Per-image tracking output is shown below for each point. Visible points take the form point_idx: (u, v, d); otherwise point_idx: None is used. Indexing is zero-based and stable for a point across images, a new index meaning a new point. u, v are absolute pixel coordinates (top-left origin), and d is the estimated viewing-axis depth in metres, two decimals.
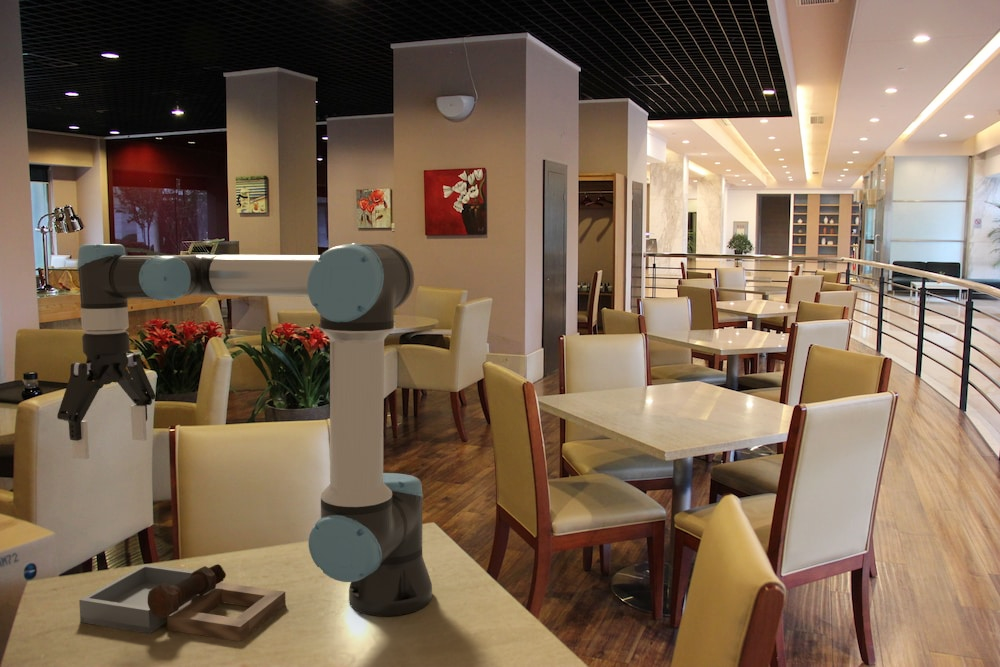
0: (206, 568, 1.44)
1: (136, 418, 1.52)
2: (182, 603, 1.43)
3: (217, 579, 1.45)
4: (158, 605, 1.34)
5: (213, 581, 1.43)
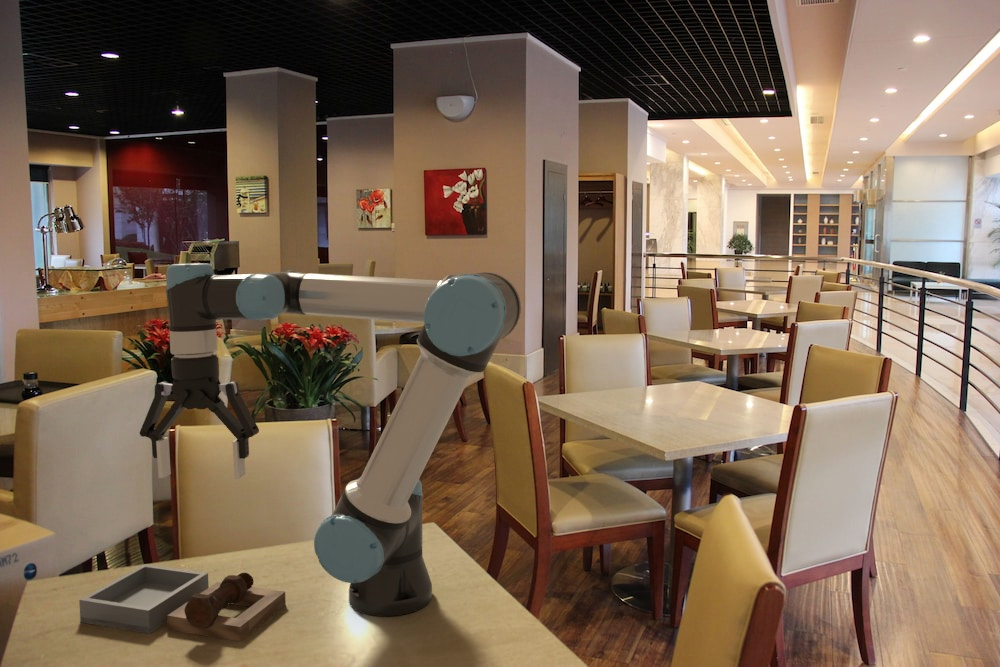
0: None
1: None
2: (182, 603, 1.43)
3: None
4: (198, 609, 1.32)
5: None
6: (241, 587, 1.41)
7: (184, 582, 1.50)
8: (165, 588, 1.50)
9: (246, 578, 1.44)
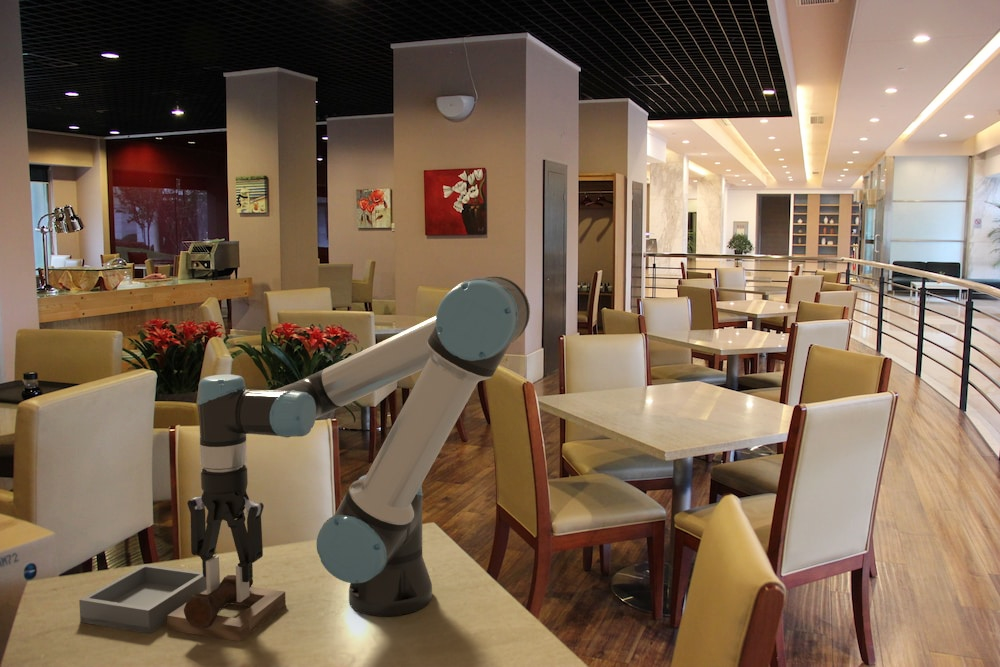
0: None
1: None
2: (182, 603, 1.43)
3: None
4: (197, 609, 1.32)
5: None
6: None
7: (184, 582, 1.50)
8: (165, 588, 1.50)
9: None
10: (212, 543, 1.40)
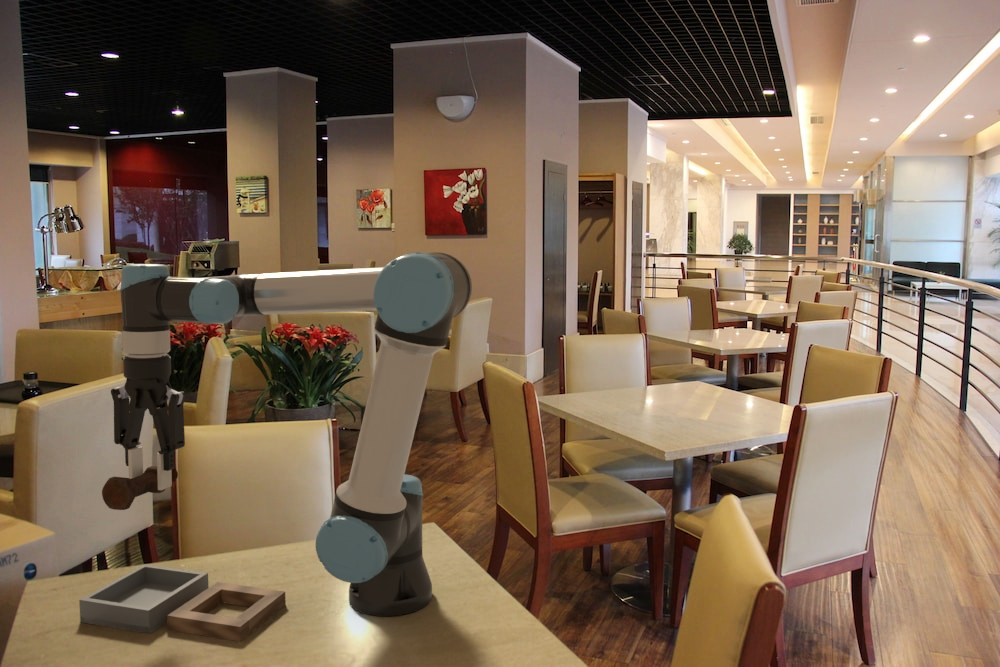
0: None
1: None
2: (182, 603, 1.43)
3: None
4: (115, 491, 1.33)
5: None
6: None
7: (184, 582, 1.50)
8: (165, 588, 1.50)
9: None
10: (135, 432, 1.41)
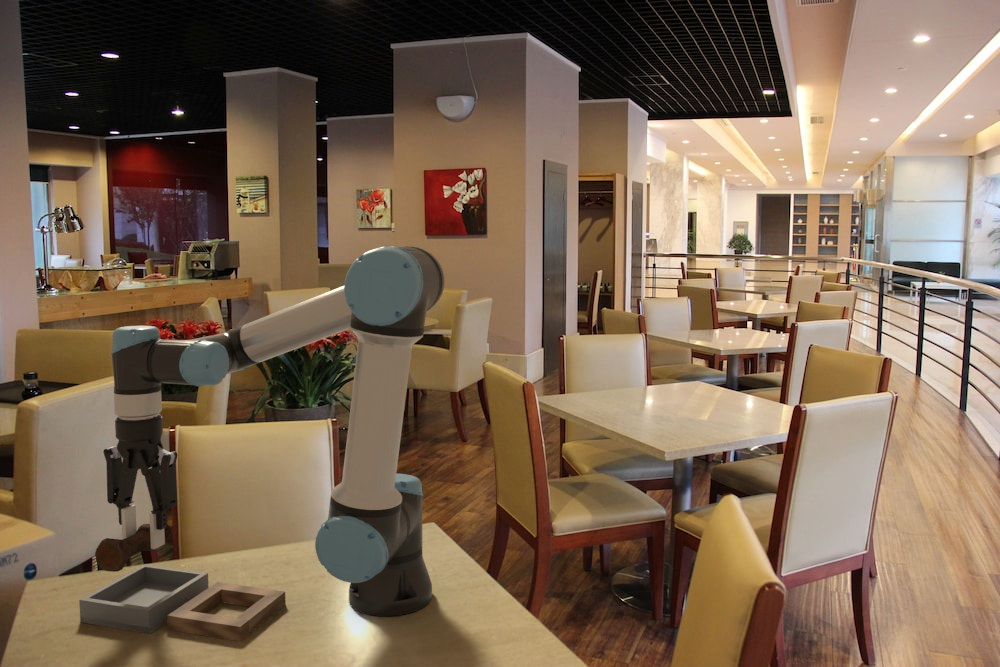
0: None
1: None
2: (182, 603, 1.43)
3: None
4: (108, 553, 1.34)
5: None
6: None
7: (184, 582, 1.50)
8: (165, 588, 1.50)
9: None
10: (128, 491, 1.43)
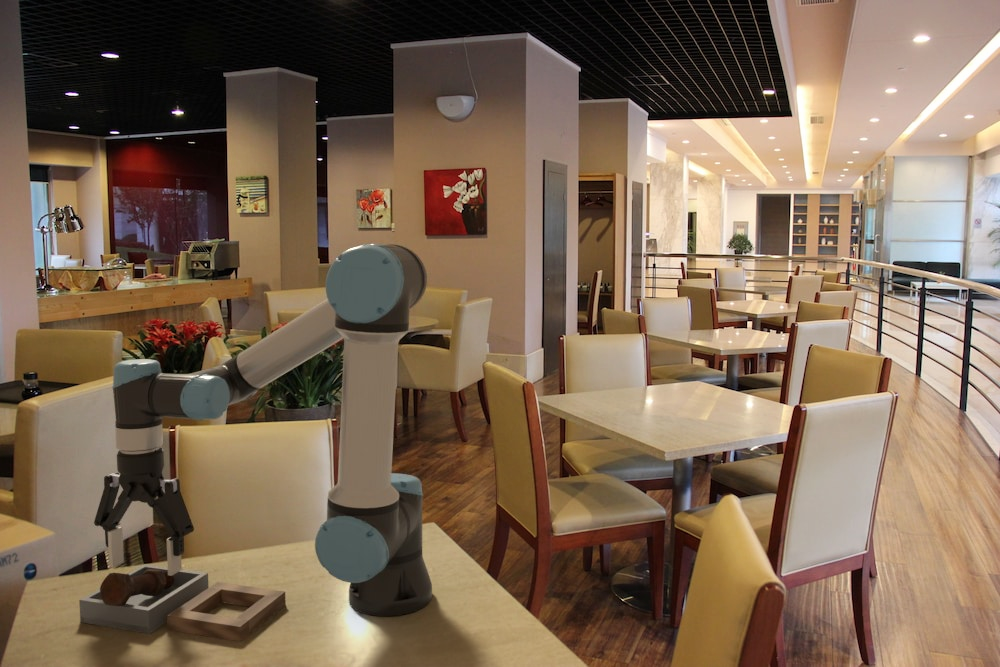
0: None
1: None
2: (182, 603, 1.43)
3: None
4: (113, 586, 1.36)
5: None
6: (160, 579, 1.45)
7: (184, 582, 1.50)
8: None
9: (167, 575, 1.48)
10: (117, 517, 1.44)
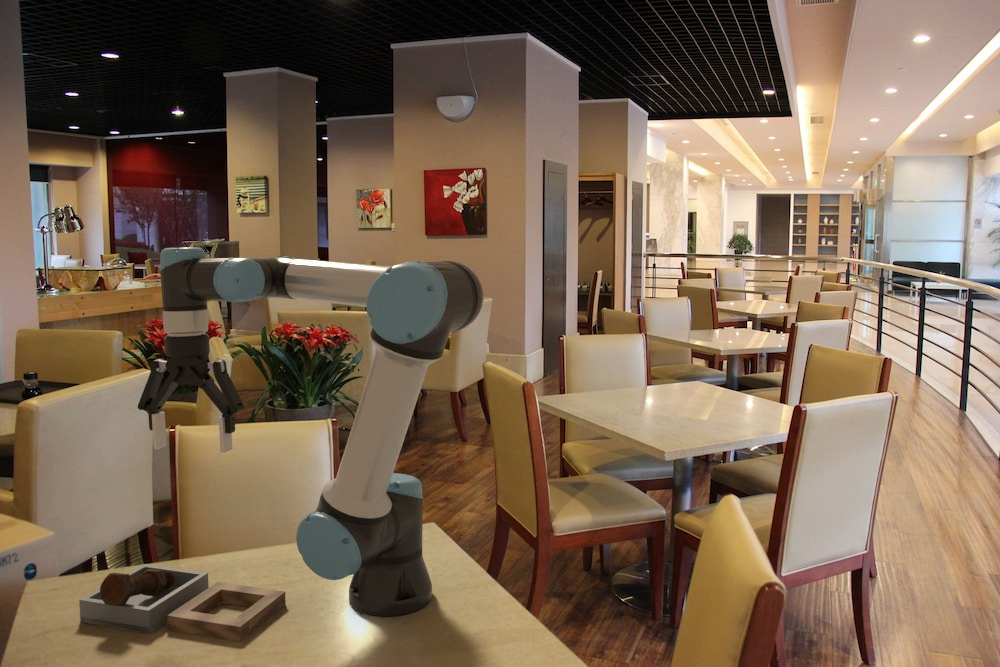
0: None
1: None
2: (182, 603, 1.43)
3: None
4: (113, 586, 1.36)
5: None
6: (160, 579, 1.45)
7: (184, 582, 1.50)
8: None
9: (167, 575, 1.48)
10: (162, 402, 1.48)
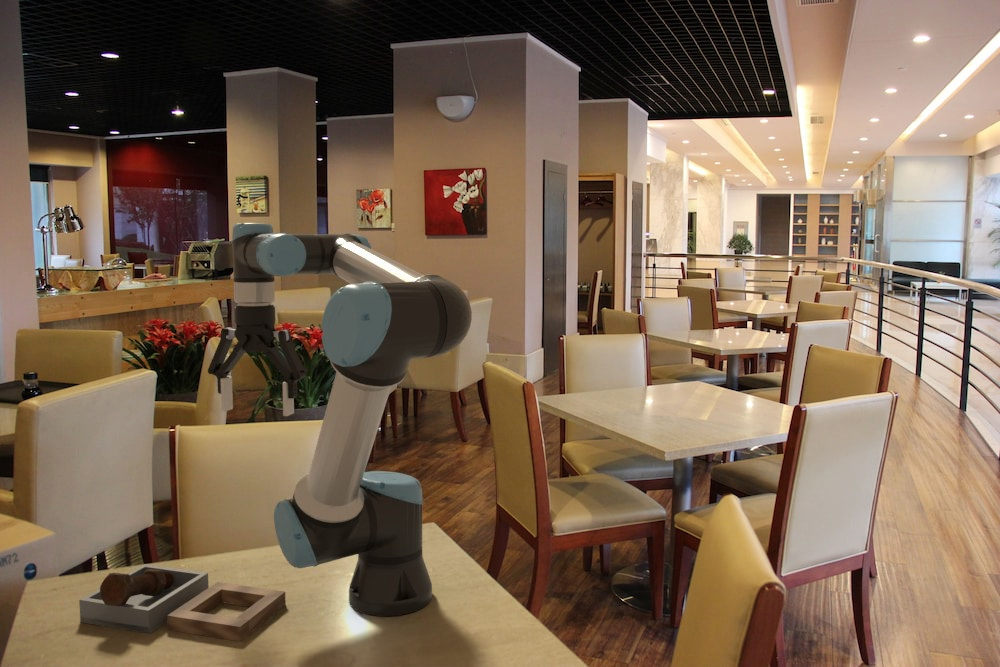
0: None
1: None
2: (182, 603, 1.43)
3: None
4: (113, 586, 1.36)
5: None
6: (160, 579, 1.45)
7: (184, 582, 1.50)
8: None
9: (167, 575, 1.48)
10: (230, 367, 1.59)
